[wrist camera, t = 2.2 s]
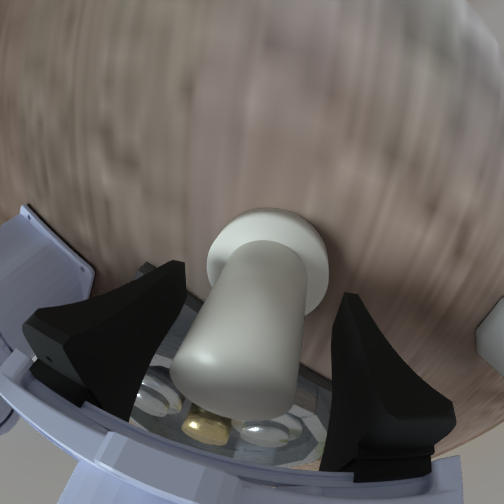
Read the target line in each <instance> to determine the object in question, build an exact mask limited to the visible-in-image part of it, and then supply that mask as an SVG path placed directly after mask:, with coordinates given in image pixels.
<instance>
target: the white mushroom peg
mask: <svg viewBox="0 0 504 504" xmlns="http://www.w3.org/2000/svg"><path fill="white" fill-rule="evenodd" d="M207 274H208V279H209V282H210V284H211V287H212V289H211V291H210V293H209V295H208V296H207V298H206V300H205V302H204V304H203V305H202V307H201V309H200V311H199V313H198V314H197V316H196V318H195V320H194V322H193V324H192V325H191V327H190V329H189V331H188V333H187V335H186V336H185V338H184V340H183V342H182V344H181V346H180V347H179V349H178V351H177V353H176V355H175V357H174V359H173V360H172V362H171V365H170V369H169V372H170V377H171V380H172V381H173V383H174V385H175V386H176V388H177V389H178V390H179V391H180V392H181V393H182V394H183V395H184V396H185V397H186V398H188V399H189V400H190V401H192V402H193V403H195V404H196V405H198V406H200V407H201V408H203V409H205V410H207V411H210V412H212V413H214V414H217V415H220V416H223V417H227V418H231V419H236V420H242V421H265V420H271V419H275V418H278V417H280V416H282V415H284V414H286V413H287V412H288V411H289V410H290V409H291V408H292V406H293V404H294V400H295V393H296V386H297V379H298V371H299V363H300V355H301V346H302V337H303V328H304V318H305V315H307V314H309V313H310V312H311V311H313V310H314V309H315V308H316V307H317V306H318V305H319V303H320V302H321V301H322V299H323V297H324V296H325V293H326V291H327V287H328V282H329V266H328V254H327V249H326V246H325V243H324V241H323V239H322V237H321V236H320V234H319V233H318V231H317V230H316V229H315V228H314V227H313V226H312V225H311V224H310V223H309V222H308V221H306V220H305V219H303V218H302V217H300V216H298V215H297V214H295V213H292V212H289V211H287V210H283V209H278V208H257V209H252V210H249V211H246V212H244V213H242V214H240V215H238V216H236V217H235V218H233V219H232V220H231V221H230V222H229V223H228V224H227V225H226V226H225V228H224V229H223V230H222V232H221V233H220V234H219V236H218V237H217V238H216V240H215V241H214V243H213V244H212V246H211V248H210V251H209V253H208V258H207Z"/></svg>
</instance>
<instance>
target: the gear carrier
mask: <svg viewBox="0 0 504 504" xmlns="http://www.w3.org/2000/svg"><path fill="white" fill-rule="evenodd" d="M154 269H155V268H154V267H153V266H151V265H150V264H149V263H147V262H145V263H144V264H143V266H142V267H141V268H140V269H139V270H138V271H137V274H136V276H135V278H134V280H136V279H138V278H140V277H141V276H143V275H145V274H147V273H149V272H151V271H153V270H154ZM134 280H133V281H134ZM203 304H204V303H203V302H201V301H200V300H198V299H197V298H196V297H194V296H193V295H191V294H190V293H188V292H187V298H186V301H185V303H184V305H183V308H182V310H181V312H180V314H179V316H178V317H177V319H176V321H175V322H174V324H173V325H172V327H171V329H170V330H169V332H168V333H167V335H166V337H165V338H164V340H163V341H162V343H161V344H160V346H159V348H158V349H157V351H156V353H155V355H154V357H153V359H152V361H151V363H150V365H149V367H148V370H147V372H146V374H145V377H144V379H143V382H142V384H141V386H140V389H139V392H138V395H137V397H136V400H135V403H134V406H133V409H132V412H131V416H130V420H131V421H132V422H133V423H134V424H136V425H137V426H138V427H139V428H142V429H144V430H146V431H149V432H151V433H154V434H156V435H159V436H161V437H164V438H167V439H169V440H172V441H175V442H178V443H181V444H184V445H187V446H190V447H193V448H196V449H200V450H203V451H206V452H210V453H214V454H217V455H221V456H225V457H229V458H233V459H238V460H242V461H247V462H252V463H257V464H263V465H269V466H275V467H282V468H288V467H293V466H298V465H302V464H307V463H311V462H314V461H316V460H317V459H318V458H319V457H320V456H321V455H322V454H323V451H324V446H325V441H326V436H327V430H328V424H329V417H330V409H331V401H332V382H331V381H330V380H328V379H326V378H324V377H322V376H320V375H319V374H317V373H315V372H313V371H312V370H310V369H308V368H306V367H305V366H303V365H301V364H299V371H298V379H297V386H296V393H295V400H294V404H293V406H292V408H291V409H290V410H289V411H288V412H287V413H286V414H284V415H282V416H280V417H278V418H275V419H271V420H265V421H242V420H236V419H231V418H227V417H223V416H220V415H217V414H214V413H212V412H210V411H207V410H205V409H203V408H201V407H200V406H198V405H196V404H195V403H193V402H192V401H190V400H189V399H188V398H186V397H185V396H184V395H183V394H182V393H181V392H180V391H179V390H178V389H177V388H176V386H175V385H174V383H173V381H172V380H171V377H170V372H169V369H170V365H171V362H172V360H173V359H174V357H175V355H176V353H177V351H178V349H179V347H180V346H181V344H182V342H183V340H184V338H185V336H186V335H187V333H188V331H189V329H190V327H191V325H192V324H193V322H194V320H195V318H196V316H197V314H198V313H199V311H200V309H201V307H202V305H203Z"/></svg>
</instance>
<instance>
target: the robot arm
mask: <svg viewBox="0 0 504 504" xmlns="http://www.w3.org/2000/svg"><path fill="white" fill-rule="evenodd" d="M94 276H95V272H94V270H93V268H92V267H91V266H90V265H89V264H87V263H86V262H85V261H84V260H83V259H82V258H81V257H79V256H78V255H77V254H76V253H75V252H74V251H73V250H72V249H71V248H69V247H68V246H67V245H66V244H65V243H64V242H63V241H62V240H61V239H60V238H59V237H58V236H57V235H56V234H55V233H54V232H53V231H51V230H50V229H49V228H48V227H47V226H46V225H45V224H44V223H43V222H42V221H41V220H40V219H39V218H38V216H37V215H36V214H35V213H34V212H33V211H32V210H31V209H30V208H29V207H28V206H27V205H26V204H24V205H22V206H21V211H20V214H19V215H17V216H15V217H14V218H12V219H10V220H9V221H7V222H5V223H4V224H2V225H1V226H0V435H2V434H4V433H7V432H8V431H10V430H11V429H12V428H13V427H14V426H15V425H16V423H17V422H18V420H19V418H20V416H21V417H22V418H23V419H24V420H26V421H27V422H28V423H29V424H30V425H31V426H32V427H34V428H35V429H36V430H37V431H38V432H40V433H41V434H42V435H43V436H44V437H46V438H47V439H48V440H50V441H51V442H52V443H53V444H55V445H56V446H57V447H59V448H60V449H62V450H63V451H64V452H66V453H67V454H69V455H70V456H72V457H73V458H74V459H76V460H78V461H79V462H78V465H77V466H76V468H75V470H74V472H73V474H72V475H71V477H70V479H69V481H68V483H67V485H66V487H65V489H64V491H63V493H62V494H61V496H60V499H59V500H58V502H57V504H463V483H462V471H461V461H460V456H459V455H456V456H451V457H447V458H441V459H437V460H434V461H432V462H431V455H433V454H434V452H435V450H434V445H435V444H436V443H438V442H439V441H440V440H442V439H443V438H444V437H445V436H447V435H448V434H449V433H450V432H451V431H452V430H453V429H454V427H455V425H456V417H455V412H454V408H453V404H452V401H450V400H449V399H447V398H446V397H444V396H443V395H442V394H440V393H439V392H437V391H436V390H435V389H433V388H432V387H431V386H430V385H429V384H427V383H426V382H425V381H424V380H423V379H422V378H420V377H419V376H418V375H417V374H416V373H415V372H414V371H413V370H412V369H411V368H410V367H409V366H408V365H407V364H406V363H405V362H404V361H403V359H402V358H401V357H400V356H399V355H398V354H397V352H396V351H395V350H394V349H393V348H392V346H391V345H390V344H389V342H388V341H387V339H386V338H385V337H384V335H383V334H382V332H381V331H380V330H379V328H378V327H377V325H376V323H375V322H374V320H373V319H372V317H371V315H370V314H369V312H368V310H367V309H366V307H365V305H364V304H363V302H362V300H361V299H360V297H359V296H358V294H352V293H346V292H345V293H344V295H343V298H342V301H341V304H340V307H339V310H338V313H337V315H336V318H335V321H334V324H333V327H332V339H331V360H332V401H331V409H330V417H329V424H328V430H327V436H326V441H325V446H324V451H323V455H322V460H321V464H320V468H319V471H309V470H298V469H290V468H282V467H275V466H269V465H263V464H257V463H252V462H247V461H242V460H238V459H233V458H229V457H225V456H221V455H217V454H214V453H210V452H206V451H203V450H200V449H196V448H193V447H190V446H187V445H184V444H181V443H178V442H175V441H172V440H169V439H167V438H164V437H161V436H159V435H156V434H154V433H151V432H149V431H146V430H144V429H142V428H139V427H137V426H135V425H132V424H130V423H129V419H130V416H131V412H132V409H133V406H134V403H135V400H136V397H137V395H138V392H139V389H140V386H141V384H142V382H143V379H144V377H145V374H146V372H147V370H148V367H149V365H150V363H151V361H152V359H153V357H154V355H155V353H156V351H157V349H158V348H159V346H160V344H161V343H162V341H163V340H164V338H165V337H166V335H167V333H168V332H169V330H170V329H171V327H172V325H173V324H174V322H175V321H176V319H177V317H178V316H179V314H180V312H181V310H182V308H183V305H184V303H185V301H186V298H187V291H186V277H185V262H180V261H175V260H172V261H169V262H167V263H165V264H164V265H162V266H160V267H158V268H156V269H154V270H153V271H151V272H149V273H147V274H145V275H143V276H141V277H140V278H138V279H136V280H134V281H132V282H130V283H128V284H126V285H124V286H122V287H119V288H117V289H115V290H112V291H110V292H107V293H105V294H102V295H99V296H96V297H93V298H90V299H89V296H90V292H91V287H92V283H93V279H94ZM35 355H36V356H37V358H38V359H37V360H36V361H35V362H33V360H32V358H33V357H34V356H35ZM263 485H265V486H263ZM267 486H271V487H267ZM272 487H277V488H272Z"/></svg>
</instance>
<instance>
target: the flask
mask: <svg viewBox="0 0 504 504" xmlns="http://www.w3.org/2000/svg"><path fill="white" fill-rule="evenodd" d="M476 352H477V353H478V354H479V355H480V356H481V357H482V358H483V359H484V360H485V361H486V362H487V363H488V364H489V365H491V366H492V367H493V368H494V369H495V370H496V371H497V372H498V373H499V374H500V375H501V376H502V377H503V378H504V297H503V298H502V299H500V301H499V302H498V303H497V305H496V306H495V307H494V309H493V310H492V311H491V312H490V314H489V315H488V316H487V317H486V319H485V320H484V321H483V322H482V323H481V325H480V326H479V327H478V328H477V329H476Z"/></svg>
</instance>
